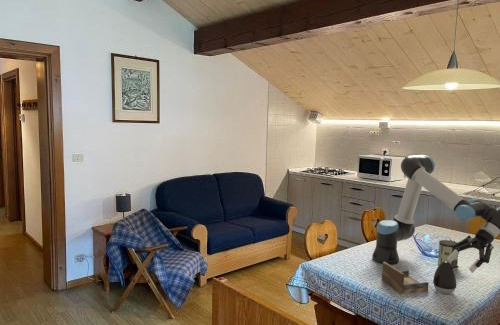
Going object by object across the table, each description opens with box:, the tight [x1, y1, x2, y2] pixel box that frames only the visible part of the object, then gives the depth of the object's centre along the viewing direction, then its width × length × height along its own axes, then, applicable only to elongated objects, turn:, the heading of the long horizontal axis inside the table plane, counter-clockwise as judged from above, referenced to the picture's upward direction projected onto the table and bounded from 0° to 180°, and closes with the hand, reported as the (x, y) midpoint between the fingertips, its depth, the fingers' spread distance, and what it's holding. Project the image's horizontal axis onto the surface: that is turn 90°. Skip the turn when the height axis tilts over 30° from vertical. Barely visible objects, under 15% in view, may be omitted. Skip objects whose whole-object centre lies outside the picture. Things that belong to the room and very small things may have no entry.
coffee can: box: [437, 239, 459, 270], centre depth 219 cm, size 10×10×14 cm
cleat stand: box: [381, 262, 429, 295], centre depth 191 cm, size 15×16×10 cm
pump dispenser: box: [432, 262, 459, 295], centre depth 185 cm, size 10×10×15 cm
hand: (459, 265), depth 184 cm, fingers open, 13 cm apart
